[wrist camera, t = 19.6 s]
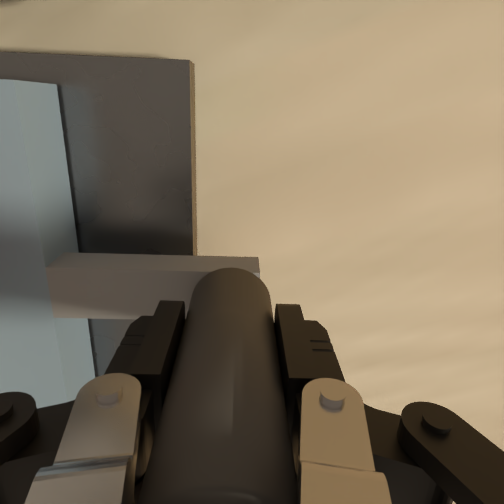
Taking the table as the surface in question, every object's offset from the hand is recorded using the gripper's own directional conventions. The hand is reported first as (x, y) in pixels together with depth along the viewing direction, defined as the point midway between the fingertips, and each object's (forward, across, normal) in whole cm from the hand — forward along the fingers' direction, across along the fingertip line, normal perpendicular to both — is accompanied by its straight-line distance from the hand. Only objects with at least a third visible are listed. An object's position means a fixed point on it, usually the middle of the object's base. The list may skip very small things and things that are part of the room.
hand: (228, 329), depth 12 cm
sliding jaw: (+5, +4, 0) cm, 6 cm away
